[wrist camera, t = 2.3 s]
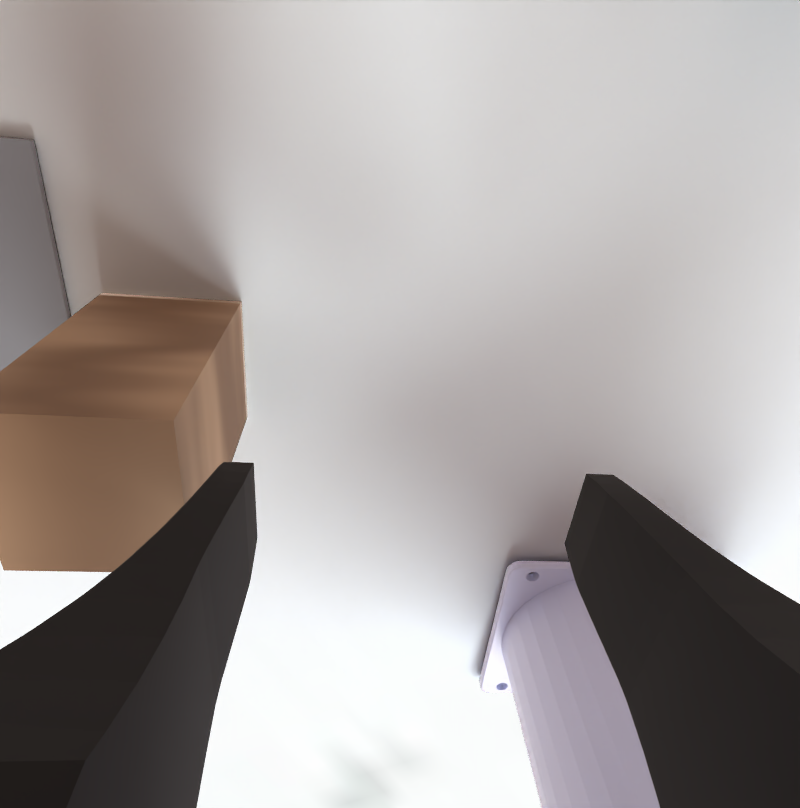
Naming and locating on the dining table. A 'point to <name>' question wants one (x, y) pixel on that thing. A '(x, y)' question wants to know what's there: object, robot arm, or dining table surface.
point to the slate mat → (26, 254)
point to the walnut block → (115, 427)
